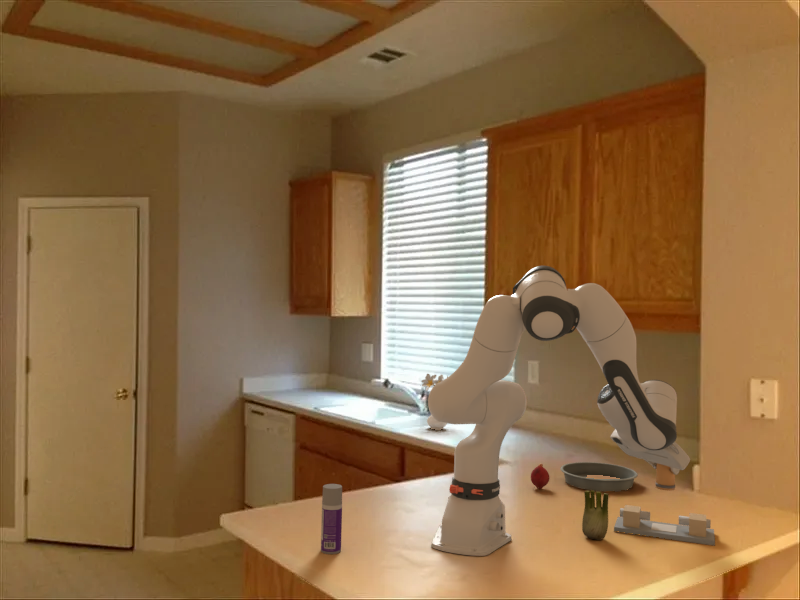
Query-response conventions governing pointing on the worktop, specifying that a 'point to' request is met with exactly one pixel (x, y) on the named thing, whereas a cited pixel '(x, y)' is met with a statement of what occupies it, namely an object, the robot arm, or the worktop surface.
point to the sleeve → (664, 478)
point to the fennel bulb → (595, 516)
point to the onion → (540, 476)
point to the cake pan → (580, 470)
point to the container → (331, 519)
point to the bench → (665, 526)
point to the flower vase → (428, 383)
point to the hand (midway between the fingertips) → (667, 469)
